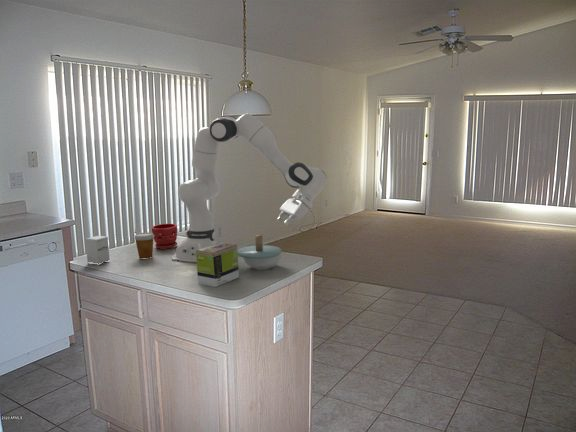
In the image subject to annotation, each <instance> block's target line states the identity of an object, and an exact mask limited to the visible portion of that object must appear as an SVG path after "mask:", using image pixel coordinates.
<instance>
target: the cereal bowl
mask: <svg viewBox="0 0 576 432" xmlns="http://www.w3.org/2000/svg"><path fill="white" fill-rule="evenodd" d="M281 258H282V253H281V254H280V255H277V256H274V257H269V258H259V259H253V258H244V257H243V261H244V263H245V264H246V265H247V266H249V267H251V268H254V269H255V270H259V271H260V270H261V271H262V270H263V271H264V270H269V269H272V267H275V266H276V265H277V264H279V262H280V260H281Z"/></svg>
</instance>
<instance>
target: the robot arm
mask: <svg viewBox="0 0 576 432" xmlns="http://www.w3.org/2000/svg"><path fill="white" fill-rule="evenodd" d="M238 136H239V137H241V138H242V139H244V140H245V141H246V142H247V143H248V144H249V145H250V146H251V147H252V148H253V149H255V150H256V151H257V152H259V153H260V154H261V155H262V156H264V157H265V158H266V159H267V160H268V161H270V163H272V164H273V165H274V167H275V168H276V169H278V170H279V171H280V172H281V174H282V175H283V178H284V179H285V183H287V185H288V186H289V187H291V188H293V189H294V188H295V189H296V191H294V193H293V194H292V195H291V197H292V198H287V200H286V201H285V202H283V204H282V205H281V206H280V207H279V211H280V213H279V215H278V217H277V218H276V220H277V222H279V223H281V222H282V221H283V220H284V217H286V216H288V218H287V219H285V220H284V221H283V224H284V225H285V226H288V225H289V224H290V223H291V222H293V221H294V220H297V221H299V220H301V219H302V218H303V217H304V216H305V215H306V214H307V213H308V211H309V210H311V209H312V208H313V207H314V205H313V201H314V200H315V198H316V197H317V196H318V195H319V194H320V193H321V192H322V190H323V189H324V187H326V185H327V183H328V177H327V174H326V173H325V172H324V171H323V170H322V169H321V168H320V167H312V166H309V165H307V164H304V163H302V162H298V161H297V162H294V163H292V162H291V161H289V159H288V158H287V157H285V155H284V154H282V152H281V151H280V149H279V147H278V145H277V141H276V138H275V136H274V134H273V133H272V131H271V130H270V129H269V128H268V127H267V126H266V125H265V124H264V123H263V122H262V121H261V120H259V119H258V118H257V117H255V116H254V115H252V114H250V113H243V114H241V115H240V116H238V118H237V117H235V116H233V115H231V116H226V115H225V116H221V117H219V118H216V119H214V120H212V122H211V123H210V125H209V127H207V126H205V127H202V128H200V129H199V130H198V132H197V134H196V138H195V142H194V147H193V153H192V160H191V167H192V168H193V169H194V171H195V179H190V180H186V181H184V182H183V183H181V184H179V186H178V189H177V196H178V198H179V200H180V201H181V202H182V203H184V205H185V207H186V208H187V211H188V215H189V216H188V217H189V227H190V228H189V229H188V230H187V231H186V232H185V235H187V237H185V239H183V240H182V241H181V242H180V243H178V244H177V245H176V251H175V253H174V254H173V255H172V256H171V260H172V261H177V260H179V261H178V262H190V263H197V260H196V250H198V249H201V248H204V247H207V246H210V245H213V244H216V242H215V239H216V238H215V237H216V233H215V228H214V218H213V212H212V211H211V210H210V209H209V208H208V206H207V203H206V201H208V200H212V199H214V198H215V197H217V196H218V195H219V194H220V192H221V184H220V182H219V181H218V179H217V177H216V176H217V175H216V174H217V173H216V166H217V165H216V164H217V157H218V149H219V146H220V143H223V142H224V143H225V142H229V141H233V140H234V139H236V138H238Z"/></svg>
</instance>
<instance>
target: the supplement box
mask: <svg viewBox="0 0 576 432" xmlns="http://www.w3.org/2000/svg"><path fill="white" fill-rule="evenodd" d="M85 246H86V247H85V248H86V259H87V263H88V262H93V263H98V264H99V263H102V262H105V261H108V260H110V251H109V250H110V248H109V237H108V236H104V235H96V236H90V237H87V238H85Z"/></svg>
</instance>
